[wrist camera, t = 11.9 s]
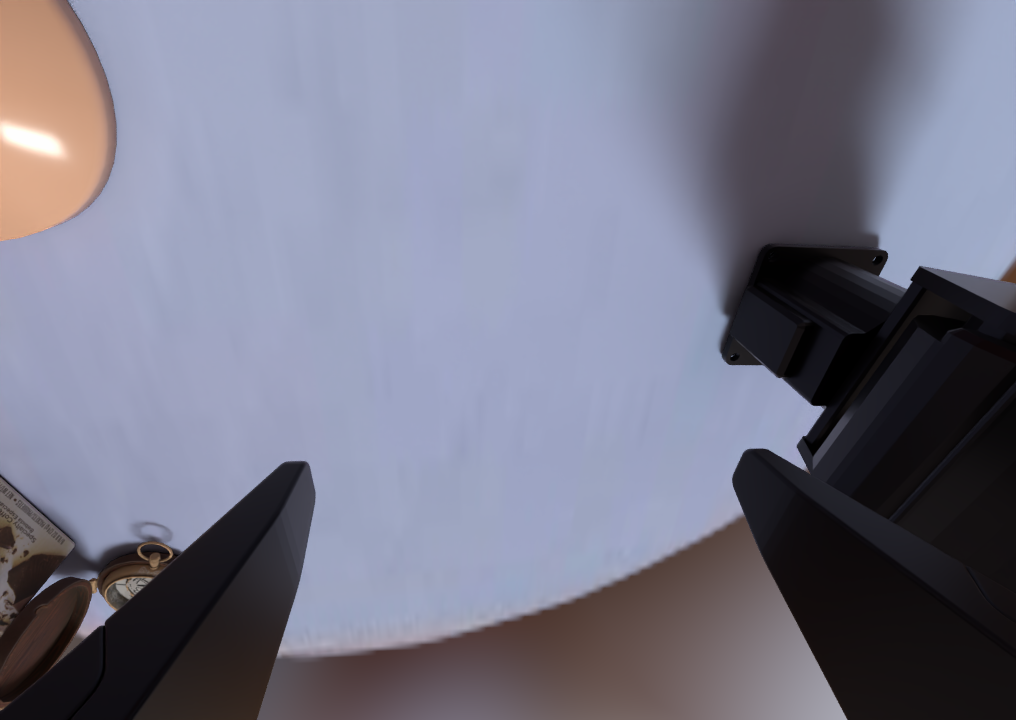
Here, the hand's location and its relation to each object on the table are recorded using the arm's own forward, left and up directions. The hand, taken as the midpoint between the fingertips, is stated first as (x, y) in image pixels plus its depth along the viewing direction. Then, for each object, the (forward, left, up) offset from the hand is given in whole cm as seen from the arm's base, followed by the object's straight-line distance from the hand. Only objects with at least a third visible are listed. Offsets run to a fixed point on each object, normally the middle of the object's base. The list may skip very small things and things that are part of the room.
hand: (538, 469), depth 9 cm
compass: (+21, +21, -13) cm, 32 cm away
